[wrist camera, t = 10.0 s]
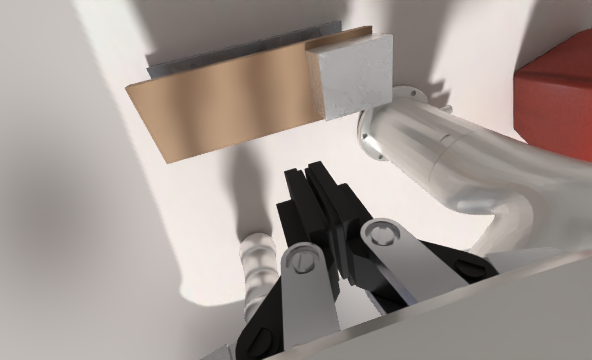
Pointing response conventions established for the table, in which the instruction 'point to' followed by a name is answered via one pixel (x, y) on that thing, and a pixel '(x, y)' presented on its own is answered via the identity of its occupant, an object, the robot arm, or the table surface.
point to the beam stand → (243, 50)
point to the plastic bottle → (257, 270)
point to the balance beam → (231, 99)
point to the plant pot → (557, 99)
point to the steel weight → (351, 75)
